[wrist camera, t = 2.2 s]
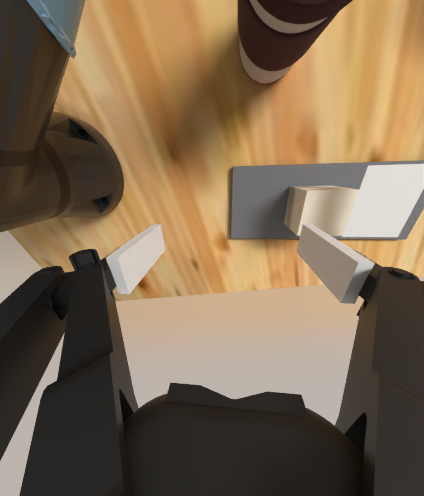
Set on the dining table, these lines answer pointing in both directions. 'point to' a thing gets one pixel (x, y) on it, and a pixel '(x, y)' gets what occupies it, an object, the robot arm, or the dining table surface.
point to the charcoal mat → (336, 174)
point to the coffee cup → (280, 33)
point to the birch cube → (319, 208)
